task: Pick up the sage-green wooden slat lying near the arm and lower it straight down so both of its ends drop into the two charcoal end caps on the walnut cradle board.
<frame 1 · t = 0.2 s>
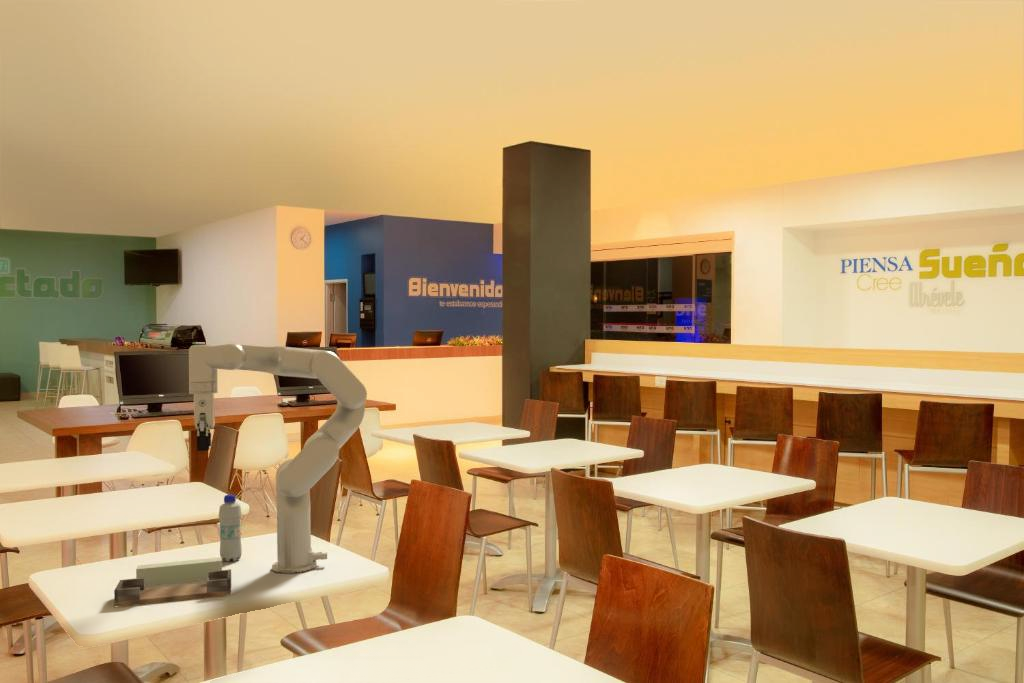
hand: (204, 448, 231), 36 cm above the table, tool pointing down, fingers open, 9 cm apart
bottle: (231, 560, 248), on the table
slat: (180, 580, 228), on the table
cradle: (175, 595, 214), on the table
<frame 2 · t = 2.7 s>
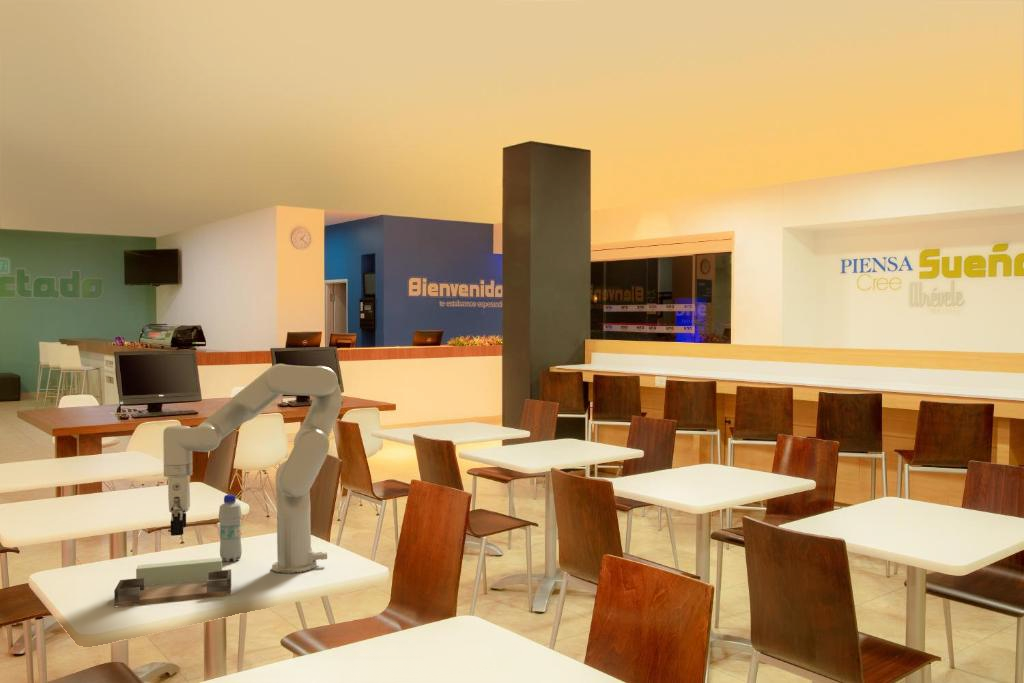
hand: (178, 531, 228), 14 cm above the table, tool pointing down, fingers open, 9 cm apart
nothing on the table moved.
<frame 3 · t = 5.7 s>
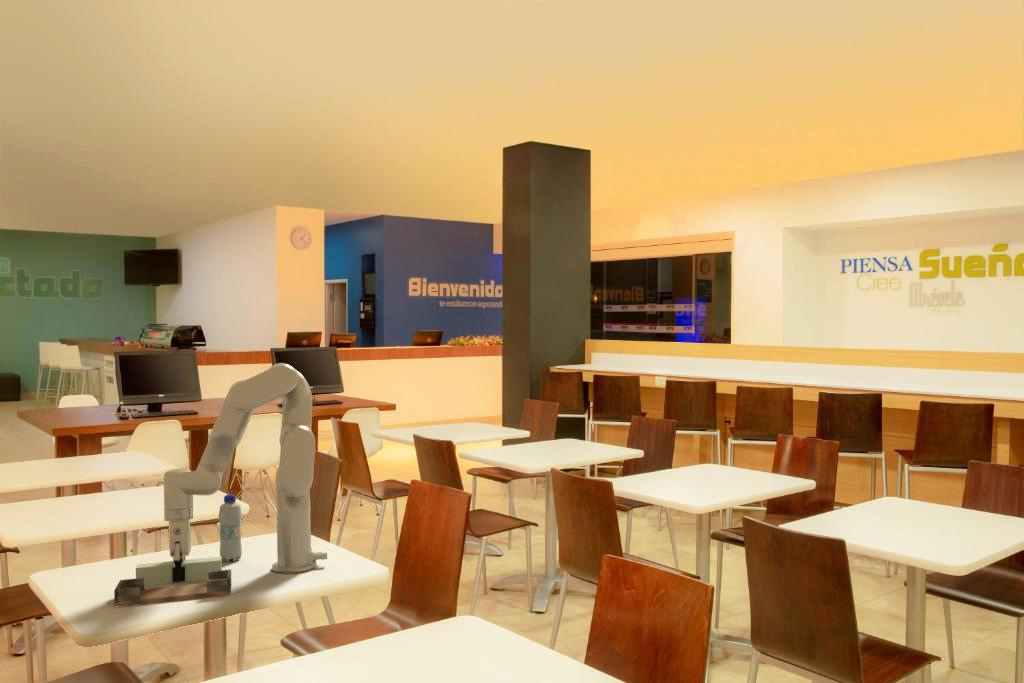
hand: (179, 578, 228), 0 cm above the table, tool pointing down, fingers closed on slat, 4 cm apart
slat: (179, 580, 228), on the table, touching gripper
everything else where it was.
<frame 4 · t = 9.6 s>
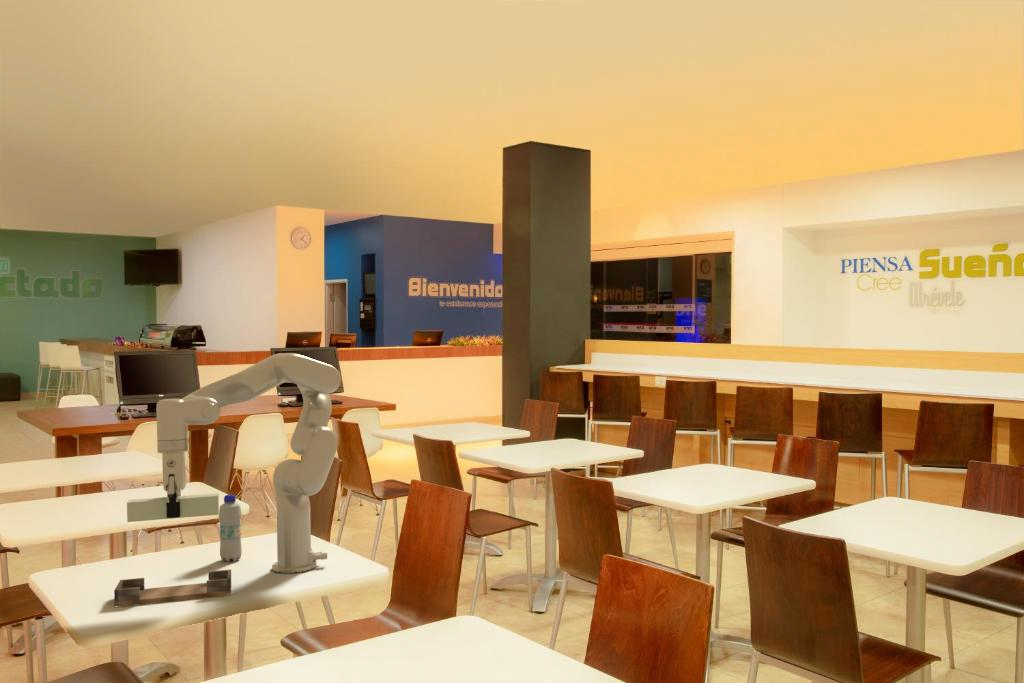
hand: (174, 514, 214), 21 cm above the table, tool pointing down, fingers closed on slat, 4 cm apart
slat: (174, 516, 214), point 21 cm above the table, touching gripper
everything else where it was.
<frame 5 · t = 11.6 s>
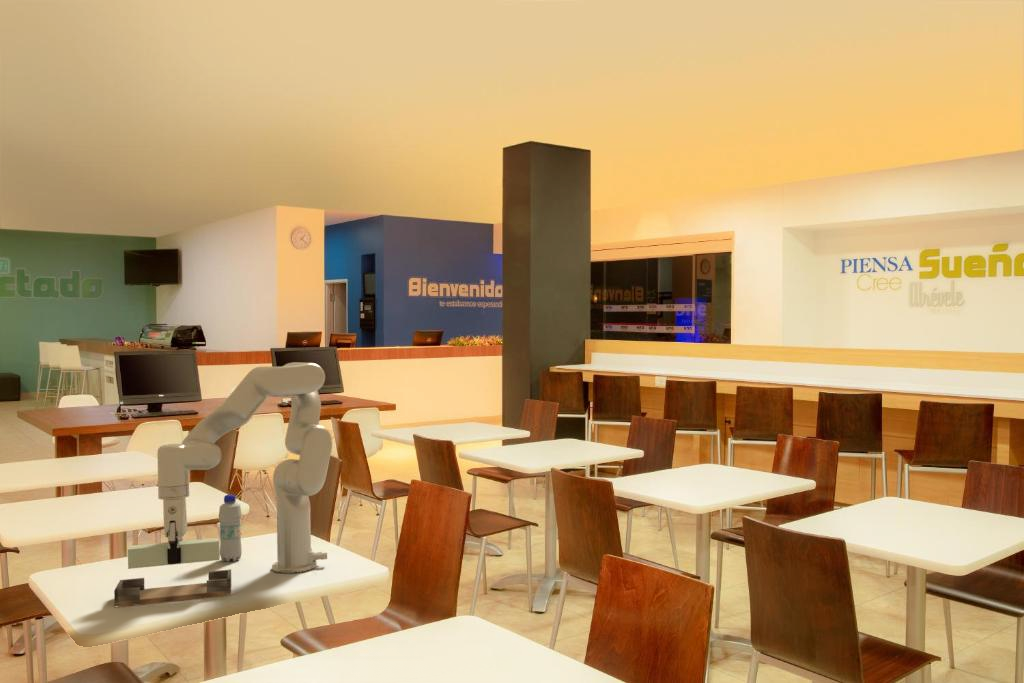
hand: (175, 560, 214), 9 cm above the table, tool pointing down, fingers closed on slat, 4 cm apart
slat: (175, 562, 214), point 9 cm above the table, touching gripper
everything else where it was.
when the fingers open (2 cm above the table, at t = 13.5 s): slat stays where it is, resting on cradle.
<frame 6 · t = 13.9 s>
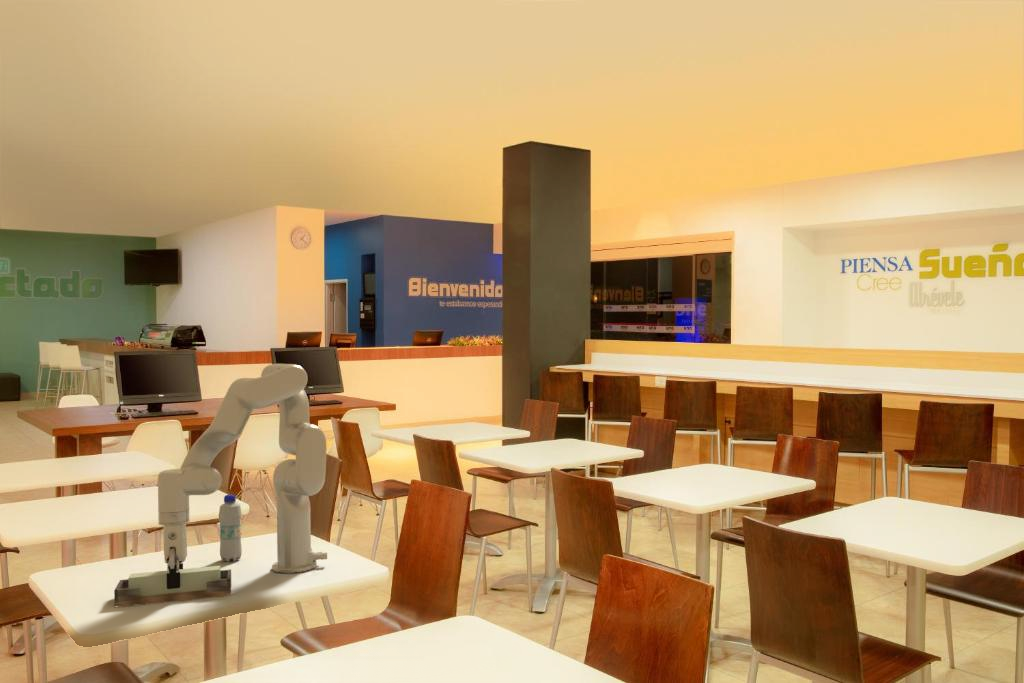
hand: (175, 583, 214), 3 cm above the table, tool pointing down, fingers open, 8 cm apart
slat: (175, 590, 214), point 1 cm above the table, touching cradle
everything else where it was.
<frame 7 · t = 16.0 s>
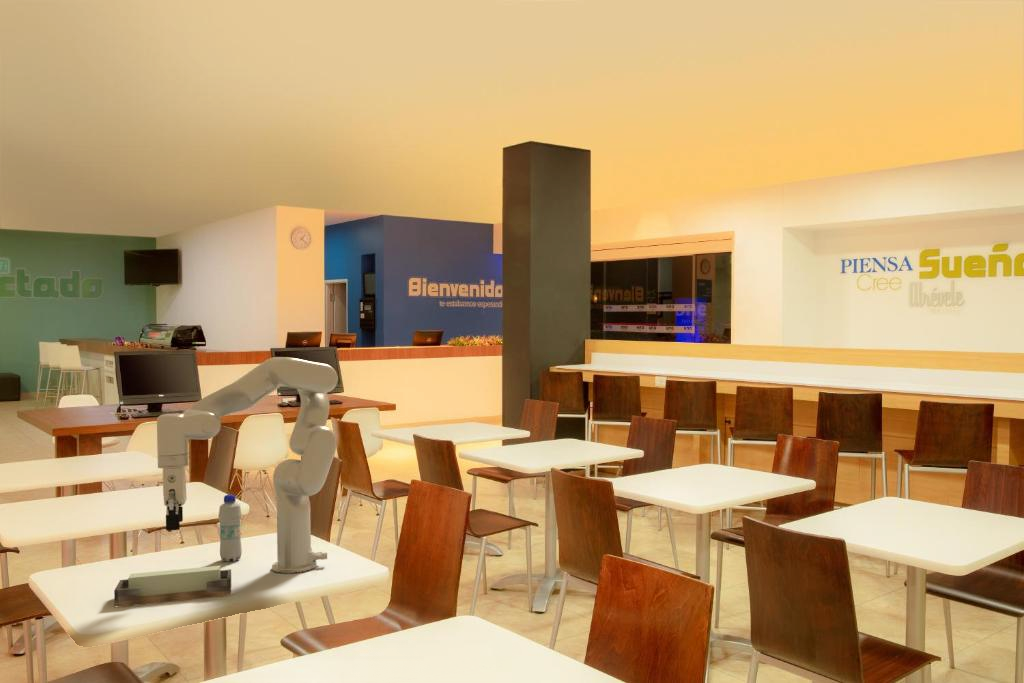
hand: (174, 525, 214), 18 cm above the table, tool pointing down, fingers open, 9 cm apart
nothing on the table moved.
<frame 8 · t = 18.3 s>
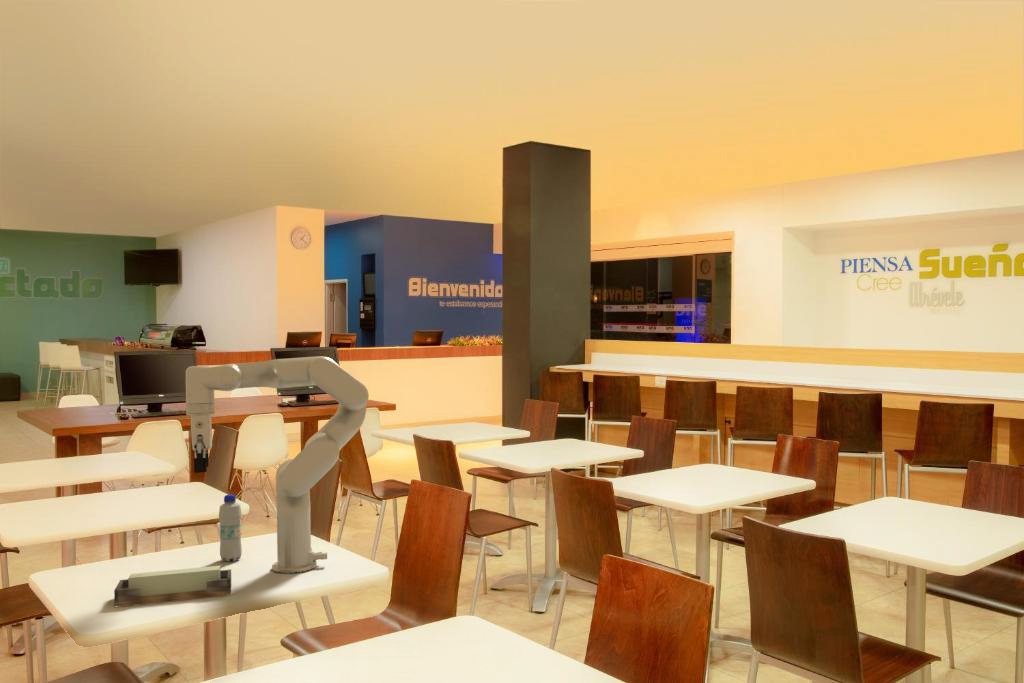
hand: (201, 469, 231), 30 cm above the table, tool pointing down, fingers open, 9 cm apart
nothing on the table moved.
at the end: slat 0.1 cm off-centre on the cradle, point 1.2 cm above the cradle's base; the gripper is holding nothing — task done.
